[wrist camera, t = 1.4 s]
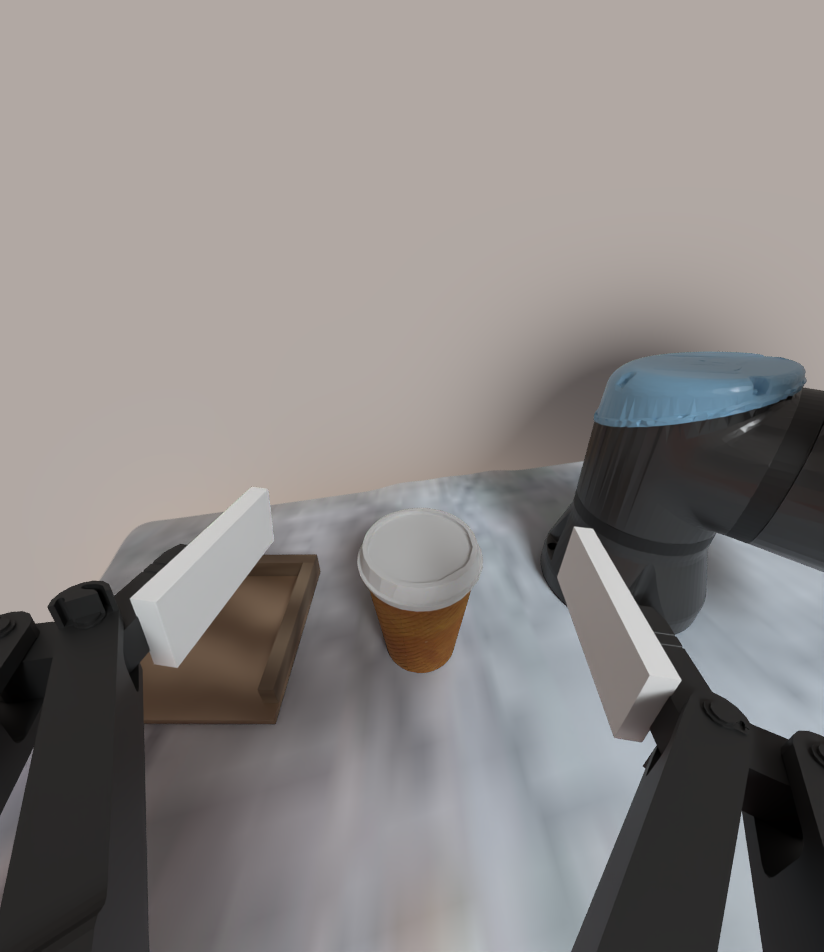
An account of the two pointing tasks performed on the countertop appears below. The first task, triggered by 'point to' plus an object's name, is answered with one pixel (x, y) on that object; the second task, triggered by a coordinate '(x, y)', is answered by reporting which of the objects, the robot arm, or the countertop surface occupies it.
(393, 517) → the disposable coffee cup
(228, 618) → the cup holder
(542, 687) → the countertop surface
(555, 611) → the countertop surface
